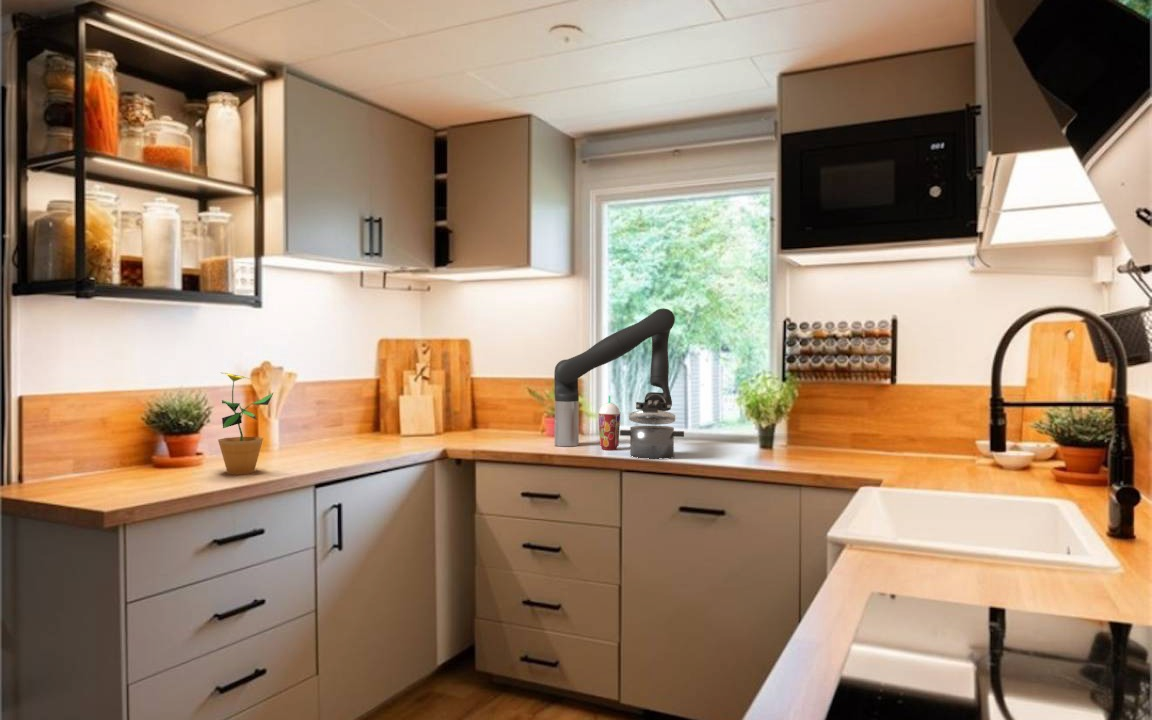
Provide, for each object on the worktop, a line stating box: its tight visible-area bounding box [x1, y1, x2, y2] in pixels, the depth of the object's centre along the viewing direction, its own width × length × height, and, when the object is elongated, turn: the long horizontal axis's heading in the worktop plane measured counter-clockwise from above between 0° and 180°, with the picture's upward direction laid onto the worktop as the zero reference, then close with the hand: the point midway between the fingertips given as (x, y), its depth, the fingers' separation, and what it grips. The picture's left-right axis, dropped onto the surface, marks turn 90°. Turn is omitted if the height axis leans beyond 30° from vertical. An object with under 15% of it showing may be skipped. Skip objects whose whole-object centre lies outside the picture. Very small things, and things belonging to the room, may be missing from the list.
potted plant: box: [217, 372, 274, 475], centre depth 229 cm, size 18×19×30 cm
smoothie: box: [597, 395, 622, 451], centre depth 286 cm, size 8×8×20 cm
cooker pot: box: [619, 425, 685, 460], centre depth 268 cm, size 17×22×10 cm
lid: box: [628, 408, 676, 426], centre depth 267 cm, size 19×16×2 cm
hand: (651, 407), depth 264 cm, fingers closed
